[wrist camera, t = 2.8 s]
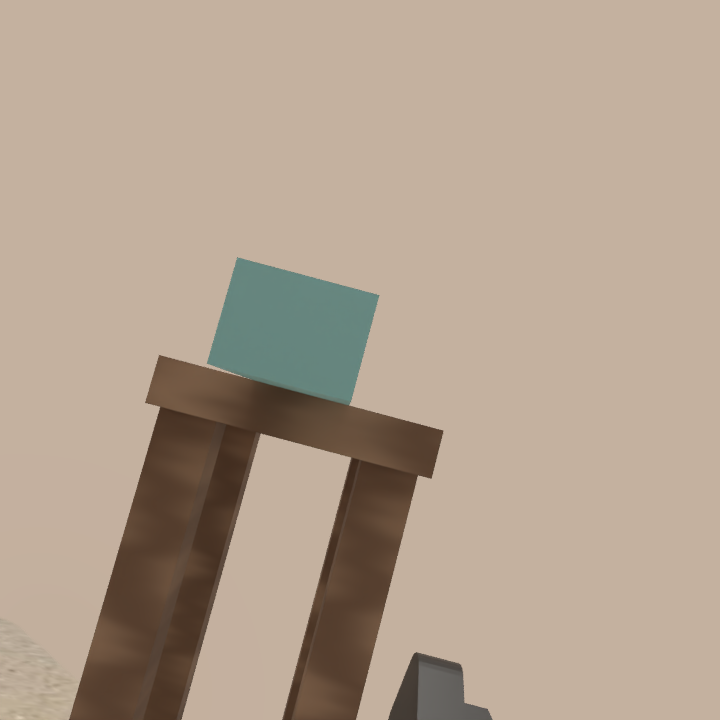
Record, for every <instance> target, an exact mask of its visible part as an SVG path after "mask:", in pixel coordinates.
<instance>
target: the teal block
mask: <svg viewBox="0 0 720 720" xmlns="http://www.w3.org/2000/svg"><path fill="white" fill-rule="evenodd" d="M378 298H379V295H377V294H373V293H369V292H365V291H362V290H358V289H354V288H350V287H346V286H342V285H339V284H335V283H331V282H328V281H324V280H320V279H316V278H313V277H309V276H305V275H301V274H298V273H294V272H290V271H286V270H282V269H279V268H275V267H271V266H267V265H264V264H260V263H256V262H252V261H249V260H245V259H241V258H237V260H236V264H235V268H234V271H233V274H232V278H231V282H230V285H229V289H228V292H227V295H226V299H225V302H224V306H223V310H222V313H221V317H220V320H219V323H218V327H217V330H216V334H215V337H214V341H213V344H212V348H211V351H210V355H209V358H208V362H207V364H210V365H213V366H215V367H218V368H221V369H224V370H226V371H230V372H232V373H235V374H238V375H241V376H243V377H246V378H249V379H252V380H255V381H258V382H262V383H266V384H270V385H273V386H277V387H281V388H285V389H288V390H292V391H296V392H300V393H303V394H307V395H311V396H315V397H318V398H322V399H326V400H330V401H334V402H337V403H341V404H345V405H349V404H350V402H351V399H352V396H353V392H354V388H355V384H356V380H357V377H358V373H359V369H360V365H361V362H362V358H363V354H364V351H365V347H366V343H367V339H368V335H369V332H370V328H371V324H372V320H373V316H374V313H375V309H376V305H377V301H378Z"/></svg>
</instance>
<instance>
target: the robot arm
mask: <svg viewBox="0 0 720 720" xmlns="http://www.w3.org/2000/svg"><path fill="white" fill-rule="evenodd" d="M388 720H492V718H491V716H490V713H489V711H488V709H485V708H481V707H478V706H474V705H470V704H466V703H464V685H463V671H462V667H461V665H460V664H459V663H455V662H451V661H447V660H444V659H440V658H436V657H432V656H428V655H425V654H421V653H417V652H416V653H414V655H413V657H412V659H411V661H410V664H409V666H408V669H407V671H406V674H405V676H404V679H403V681H402V684H401V687H400V689H399V692H398V694H397V697H396V699H395V702H394V704H393V707H392V710H391V712H390V716H389V719H388Z"/></svg>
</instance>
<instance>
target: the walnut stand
mask: <svg viewBox="0 0 720 720" xmlns="http://www.w3.org/2000/svg"><path fill="white" fill-rule="evenodd" d="M145 403H148V404H152V405H157V406H160V410H159V414H158V417H157V420H156V424H155V427H154V431H153V434H152V438H151V441H150V445H149V448H148V451H147V455H146V458H145V462H144V465H143V469H142V472H141V475H140V479H139V482H138V486H137V490H136V492H135V496H134V499H133V503H132V506H131V510H130V513H129V517H128V520H127V524H126V527H125V530H124V534H123V537H122V541H121V544H120V547H119V551H118V554H117V558H116V561H115V565H114V568H113V572H112V575H111V579H110V582H109V585H108V589H107V592H106V596H105V599H104V602H103V606H102V609H101V613H100V616H99V620H98V623H97V627H96V630H95V633H94V637H93V640H92V644H91V647H90V650H89V654H88V657H87V661H86V664H85V668H84V671H83V675H82V678H81V681H80V685H79V688H78V692H77V695H76V698H75V702H74V705H73V709H72V712H71V716H70V719H69V720H181V719H182V715H183V712H184V708H185V705H186V701H187V697H188V694H189V690H190V686H191V683H192V679H193V675H194V672H195V669H196V665H197V661H198V657H199V654H200V650H201V647H202V643H203V640H204V635H205V632H206V629H207V625H208V621H209V618H210V614H211V610H212V607H213V603H214V600H215V596H216V593H217V589H218V585H219V582H220V578H221V575H222V571H223V567H224V563H225V560H226V556H227V553H228V549H229V545H230V542H231V538H232V535H233V531H234V528H235V524H236V520H237V516H238V513H239V509H240V506H241V502H242V499H243V495H244V491H245V488H246V484H247V481H248V477H249V473H250V469H251V466H252V462H253V459H254V455H255V452H256V448H257V444H258V441H259V437H260V434H261V433H262V434H265V435H269V436H273V437H276V438H280V439H284V440H288V441H291V442H295V443H299V444H303V445H307V446H311V447H314V448H318V449H322V450H325V451H329V452H333V453H337V454H340V455H345V456H348V457H351V462H350V465H349V469H348V472H347V476H346V480H345V484H344V489H343V491H342V495H341V500H340V503H339V507H338V510H337V514H336V518H335V522H334V526H333V529H332V533H331V537H330V541H329V545H328V548H327V552H326V556H325V560H324V564H323V567H322V571H321V575H320V579H319V583H318V587H317V590H316V594H315V598H314V602H313V605H312V609H311V613H310V617H309V621H308V625H307V628H306V632H305V636H304V640H303V644H302V647H301V651H300V655H299V658H298V663H297V666H296V670H295V674H294V677H293V681H292V685H291V689H290V693H289V696H288V700H287V704H286V708H285V712H284V716H283V719H282V720H356V717H357V713H358V709H359V705H360V701H361V697H362V693H363V689H364V686H365V682H366V678H367V674H368V670H369V666H370V662H371V658H372V653H373V650H374V646H375V642H376V638H377V634H378V630H379V627H380V623H381V619H382V615H383V611H384V607H385V603H386V599H387V595H388V591H389V587H390V583H391V579H392V575H393V571H394V567H395V563H396V559H397V556H398V551H399V547H400V544H401V539H402V536H403V532H404V528H405V524H406V520H407V516H408V512H409V508H410V504H411V500H412V497H413V492H414V489H415V484H416V480H417V477H418V475H419V476H423V477H427V478H432V474H433V471H434V467H435V462H436V459H437V454H438V450H439V447H440V443H441V439H442V434H443V430H439V429H435V428H431V427H427V426H424V425H420V424H416V423H413V422H409V421H405V420H401V419H397V418H394V417H390V416H386V415H382V414H379V413H375V412H371V411H367V410H364V409H360V408H356V407H352V406H349V405H345V404H341V403H337V402H334V401H330V400H326V399H322V398H318V397H315V396H311V395H307V394H303V393H300V392H296V391H292V390H288V389H285V388H281V387H277V386H273V385H270V384H266V383H262V382H258V381H255V380H251V379H247V378H243V377H239V376H236V375H232V374H228V373H224V372H221V371H217V370H213V369H209V368H206V367H202V366H198V365H194V364H190V363H187V362H183V361H179V360H175V359H172V358H168V357H164V356H161V355H159V358H158V361H157V364H156V368H155V371H154V375H153V378H152V381H151V385H150V388H149V392H148V395H147V398H146V402H145Z"/></svg>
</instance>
